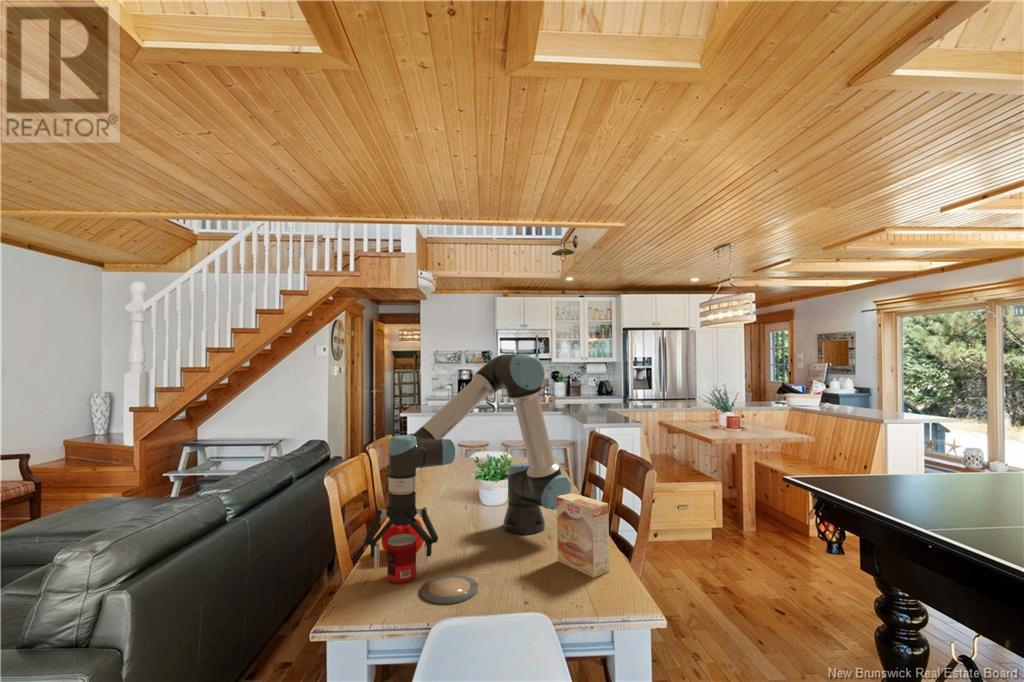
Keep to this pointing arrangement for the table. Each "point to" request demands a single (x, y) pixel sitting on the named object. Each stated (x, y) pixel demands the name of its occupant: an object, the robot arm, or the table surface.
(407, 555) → the canned food
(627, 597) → the table surface
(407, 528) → the tomato
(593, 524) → the coffeecake box
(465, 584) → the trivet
